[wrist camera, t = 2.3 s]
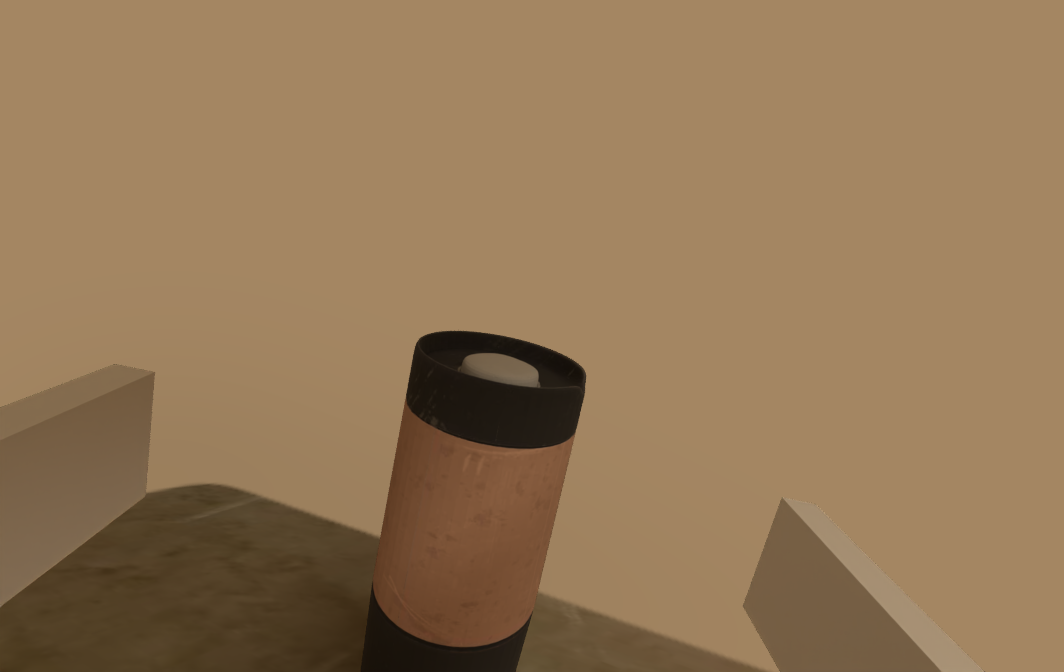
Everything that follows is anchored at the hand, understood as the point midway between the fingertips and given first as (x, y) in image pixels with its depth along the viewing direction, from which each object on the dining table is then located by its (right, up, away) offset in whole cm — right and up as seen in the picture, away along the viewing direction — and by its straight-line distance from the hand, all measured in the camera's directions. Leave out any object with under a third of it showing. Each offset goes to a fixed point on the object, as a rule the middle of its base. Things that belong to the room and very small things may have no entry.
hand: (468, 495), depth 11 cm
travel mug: (-4, -17, +16) cm, 24 cm away
